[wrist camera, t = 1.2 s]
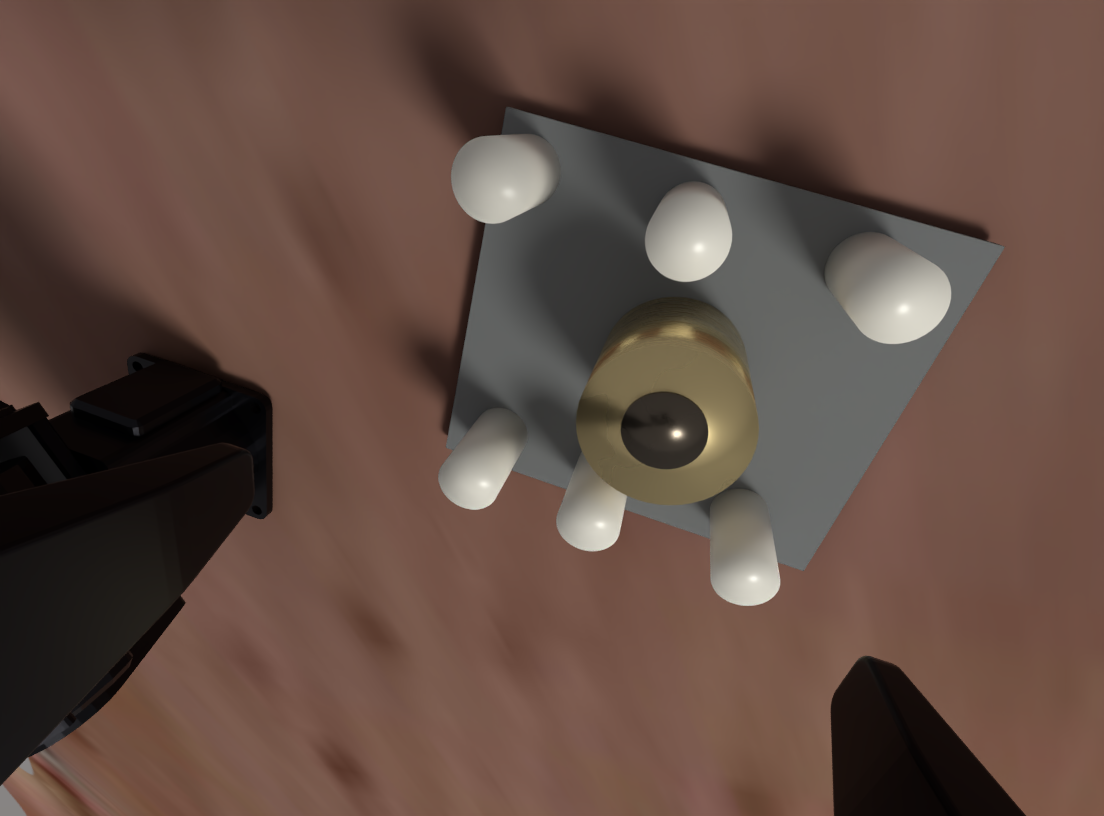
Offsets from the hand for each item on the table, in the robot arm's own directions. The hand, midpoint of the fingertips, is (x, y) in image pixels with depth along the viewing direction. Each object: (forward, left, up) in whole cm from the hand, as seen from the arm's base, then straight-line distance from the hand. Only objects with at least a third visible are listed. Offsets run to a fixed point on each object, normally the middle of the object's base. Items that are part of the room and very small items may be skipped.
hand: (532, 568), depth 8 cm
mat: (-1, -2, -12) cm, 12 cm away
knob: (-1, -2, -12) cm, 12 cm away
